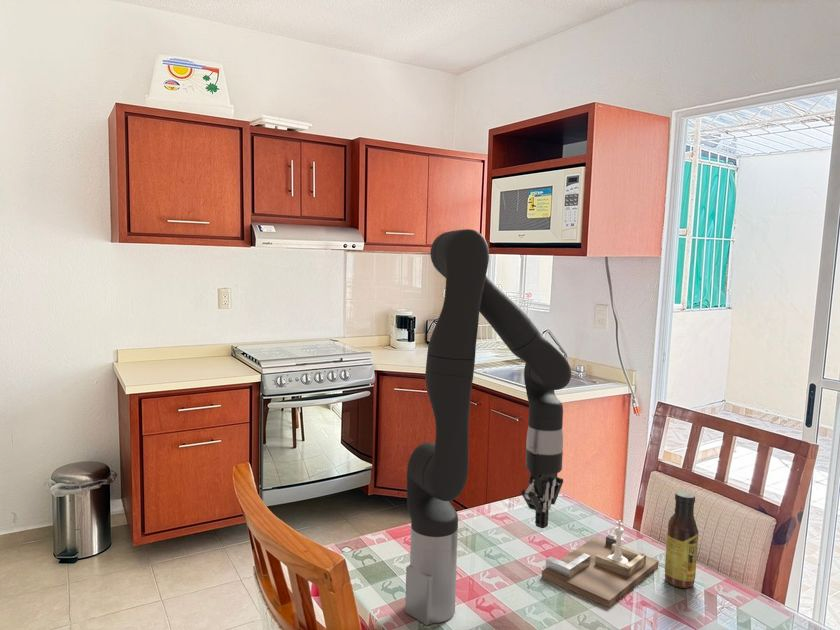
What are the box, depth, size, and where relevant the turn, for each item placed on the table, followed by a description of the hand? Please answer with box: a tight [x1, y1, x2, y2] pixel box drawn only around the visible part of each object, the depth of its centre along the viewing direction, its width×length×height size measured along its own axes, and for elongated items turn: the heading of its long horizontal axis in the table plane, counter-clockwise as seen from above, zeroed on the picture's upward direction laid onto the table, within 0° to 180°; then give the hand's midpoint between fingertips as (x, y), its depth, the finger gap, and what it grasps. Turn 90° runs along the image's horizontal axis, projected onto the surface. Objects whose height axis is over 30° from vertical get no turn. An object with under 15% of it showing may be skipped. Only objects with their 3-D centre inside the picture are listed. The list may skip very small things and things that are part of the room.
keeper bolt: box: [545, 553, 591, 578], centre depth 135 cm, size 9×6×2 cm, turn 135°
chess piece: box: [607, 519, 629, 565], centre depth 137 cm, size 5×5×10 cm
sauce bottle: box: [664, 490, 699, 589], centre depth 132 cm, size 6×6×20 cm
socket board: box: [541, 534, 659, 608], centre depth 136 cm, size 24×16×4 cm, turn 135°
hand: (541, 526), depth 128 cm, fingers closed
